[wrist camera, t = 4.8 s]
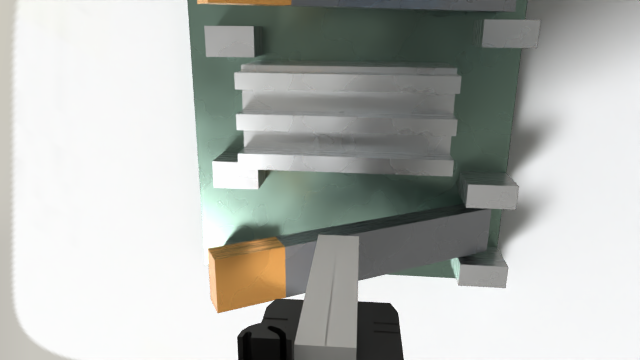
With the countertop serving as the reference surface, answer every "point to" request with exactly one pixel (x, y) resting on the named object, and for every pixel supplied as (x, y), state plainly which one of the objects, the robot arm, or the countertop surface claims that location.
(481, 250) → the lever
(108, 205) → the countertop surface
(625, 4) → the countertop surface
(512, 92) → the circuit board
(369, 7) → the lever
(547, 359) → the countertop surface
